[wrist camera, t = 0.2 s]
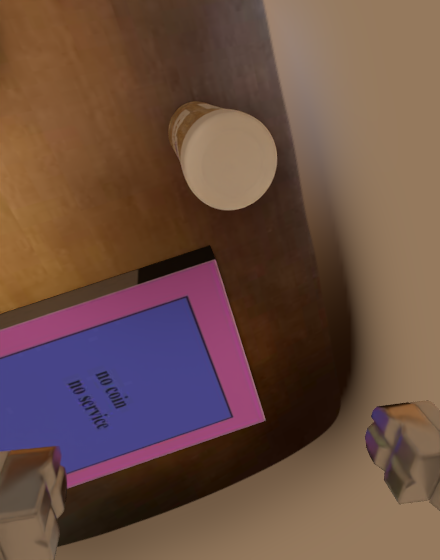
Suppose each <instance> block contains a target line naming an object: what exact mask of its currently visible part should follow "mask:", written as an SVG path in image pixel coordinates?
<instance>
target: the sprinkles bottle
mask: <svg viewBox="0 0 440 560" xmlns="http://www.w3.org/2000/svg"><path fill="white" fill-rule="evenodd" d="M168 133H169V141H170V143H171V147H172V148H173V150H174V151H175V153H176V155H177V156H178V159H179V161H180V162H181V167H182V171H183V175H184V177H185V179H186V182H187V183H188V185H189V187H190V189H191V190H192V192H193V193H194V194H195V195H196V196H197V197H198V198H199V199H200V200H201V201H202V202H203V203H205V204H207V205H208V206H210V207H213V208H216V209H220V210H236V209H241V208H244V207H247V206H248V205H251V204H252V203H254V202H255V201H257V200H258V199H259V198H260V197H261V196H262V195H263V194H264V193H265V192H266V191H267V189H268V188H269V186H270V185H271V183H272V180H273V178H274V175H275V172H276V167H277V151H276V146H275V143H274V140H273V138H272V136H271V134H270V132H269V131H268V129H267V128H266V127H265V126H264V125H263V124H262V123H261V122H260V121H259V120H257V119H256V118H255V117H253V116H251V115H249V114H246V113H244V112H241V111H238V110H233V109H224V108H220V107H217V106H213V105H209V104H207V103H204V102H198V101H194V102H189V103H186V104H184V105H182V106H181V107H180V108H178V109H177V110H176V112H175V113H174V114H173V116H172V118H171V120H170V123H169V128H168Z"/></svg>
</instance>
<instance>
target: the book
mask: <svg viewBox="0 0 440 560" xmlns="http://www.w3.org/2000/svg"><path fill="white" fill-rule="evenodd" d="M262 421H265V416H264V413H263V410H262V407H261V404H260V400H259V397H258V394H257V391H256V388H255V384H254V381H253V378H252V375H251V372H250V368H249V365H248V362H247V359H246V355H245V352H244V349H243V346H242V343H241V339H240V336H239V333H238V330H237V327H236V323H235V320H234V317H233V314H232V310H231V307H230V304H229V301H228V298H227V294H226V291H225V288H224V285H223V282H222V278H221V275H220V272H219V269H218V265H217V262H216V259H215V257H214V254H213V252H212V249H211V247H210V246H207V247H204V248H201V249H198V250H195V251H192V252H189V253H186V254H183V255H180V256H177V257H174V258H171V259H168V260H165V261H162V262H158V263H155V264H152V265H149V266H146V267H143V268H140V269H137V270H134V271H131V272H128V273H125V274H122V275H119V276H116V277H113V278H110V279H107V280H104V281H101V282H98V283H94V284H91V285H88V286H85V287H82V288H79V289H76V290H73V291H70V292H67V293H64V294H61V295H58V296H55V297H52V298H49V299H46V300H43V301H40V302H37V303H34V304H30V305H27V306H24V307H21V308H18V309H15V310H12V311H9V312H6V313H3V314H0V451H9V450H19V449H29V448H40V447H50V446H59V447H60V451H61V454H62V457H61V462H60V465H61V466H63V467H65V470H66V475H67V488H70V487H73V486H76V485H79V484H82V483H84V482H87V481H90V480H93V479H96V478H99V477H102V476H105V475H108V474H111V473H114V472H117V471H119V470H122V469H125V468H128V467H131V466H134V465H137V464H140V463H143V462H146V461H149V460H152V459H154V458H157V457H160V456H163V455H166V454H169V453H172V452H175V451H178V450H181V449H184V448H187V447H189V446H192V445H195V444H198V443H201V442H204V441H207V440H210V439H213V438H216V437H219V436H222V435H224V434H227V433H230V432H233V431H236V430H239V429H242V428H245V427H248V426H251V425H254V424H257V423H259V422H262Z"/></svg>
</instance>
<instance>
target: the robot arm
mask: <svg viewBox="0 0 440 560" xmlns="http://www.w3.org/2000/svg"><path fill="white" fill-rule="evenodd" d="M371 417H372V419H373V420H374V423H373V424H371V425H370V426H369V427H368V428H367V432H366V436H365V440H366V447H367V450H368V453H369V455H370V457H371V459H372V461H373V462H374V464H375V465H377V466H378V467H379V468H381V469H382V470H384V471H385V473H384V481H385V482H386V484H387V485H388V487H389V489H390V490H391V492H392V494H393V495H394V497H395V499H396V500H397V502H398V503H399V504H405V503H413V502H420V501H427V500H430V501H429V502H430V503H431V504H432V505H433V506H435V507H436V508H437V509H438V510H439V511H440V410H439V409H438V408H437V407H436V406H435V404H433V403H432V402H430V401H428V400H427V401H419V402H411V403H400V404H393V405H385V406H378V407H376V408H375V409H374V410H373V412H372V415H371ZM61 457H62V454H61V451H60V447H59V446H50V447H40V448H29V449H19V450H9V451H0V560H54V559H55V554H56V549H57V544H58V539H59V534H60V529H59V525H58V522H57V519H58V517H59V516H60V515H61V514H62V513H63V511H64V508H65V502H66V495H67V475H66V470H65V467H63V466H61V465H60V462H61Z"/></svg>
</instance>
